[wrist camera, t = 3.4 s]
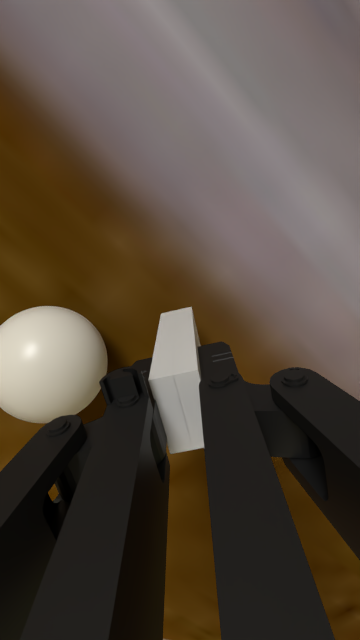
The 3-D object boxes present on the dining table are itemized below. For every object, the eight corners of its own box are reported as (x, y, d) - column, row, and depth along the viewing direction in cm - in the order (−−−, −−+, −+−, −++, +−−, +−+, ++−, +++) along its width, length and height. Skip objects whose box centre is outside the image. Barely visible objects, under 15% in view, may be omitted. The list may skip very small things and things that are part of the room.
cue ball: (101, 284, 18) (67, 316, 12) (127, 375, 19) (107, 438, 14) (2, 304, 18) (-71, 344, 13) (37, 392, 20) (-15, 459, 14)
